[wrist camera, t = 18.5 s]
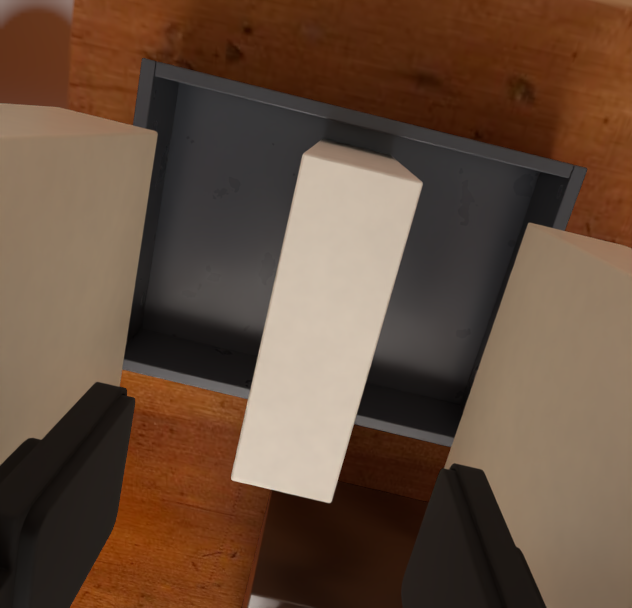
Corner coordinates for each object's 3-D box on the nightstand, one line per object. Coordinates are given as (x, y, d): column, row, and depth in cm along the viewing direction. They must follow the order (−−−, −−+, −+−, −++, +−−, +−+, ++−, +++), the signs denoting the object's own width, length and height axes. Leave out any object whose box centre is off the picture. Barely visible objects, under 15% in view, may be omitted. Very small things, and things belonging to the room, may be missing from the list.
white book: (275, 342, 32) (229, 481, 20) (322, 138, 29) (302, 152, 17) (337, 357, 32) (331, 504, 20) (391, 155, 29) (423, 182, 17)
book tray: (134, 331, 33) (100, 364, 29) (174, 67, 29) (141, 57, 25) (464, 410, 34) (482, 455, 29) (551, 160, 30) (588, 168, 25)
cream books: (22, 439, 20) (-401, 853, 9) (56, 106, 17) (-540, 65, 6) (505, 549, 21) (711, 1082, 9) (626, 245, 17) (1175, 476, 6)
